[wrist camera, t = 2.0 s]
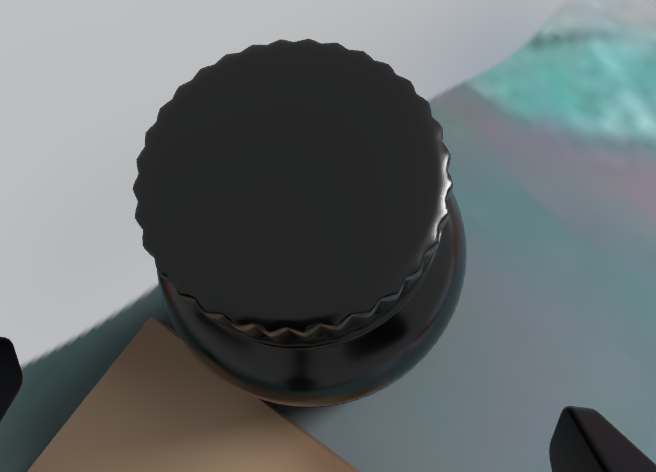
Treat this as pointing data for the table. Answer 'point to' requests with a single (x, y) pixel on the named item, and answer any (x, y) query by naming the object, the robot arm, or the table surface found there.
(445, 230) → the supplement bottle
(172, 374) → the board
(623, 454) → the robot arm
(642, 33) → the table surface
